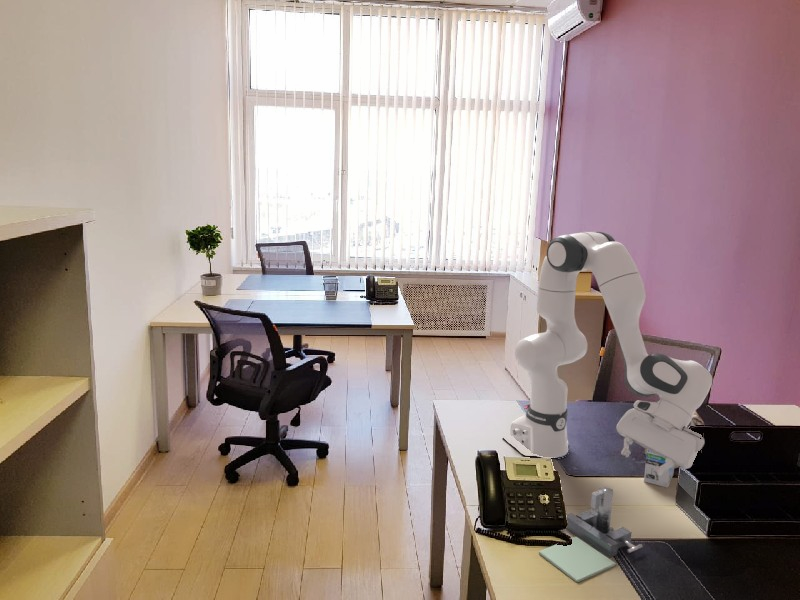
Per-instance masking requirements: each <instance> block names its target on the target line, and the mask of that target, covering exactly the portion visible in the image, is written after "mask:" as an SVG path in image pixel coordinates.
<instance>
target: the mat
mask: <svg viewBox="0 0 800 600" xmlns="http://www.w3.org/2000/svg"><path fill="white" fill-rule="evenodd" d="M570 539H572V544H571V545H567V546H563V545H557V544H558V543H556V544H554V545H550V546H548V547H545V548H544V549H541V550H539V551H538V554H539V555H540V556H541V557H543V558H544V559H545V560H546V561H548V562H549V563H550V564H552V565H553V566H555V567H556V568H557V569H558V570H560V571H561V572H562V573H564V574H565V575H566V576H568V577H569V578H570V579H571V580H573V581H574V582H575V583H579V582H582V581H585V580H586V579H588V578H591V577H594V576H595V575H598V574H599V573H601V572H604V571H606V570H609V569H611V568H613V567H615V566H616V562H614V561H613V560H611V558H610V557H608V556H607V555H605V554H604V553H602V552H601V551H599V550H598V549H596V548H595V547H593V546H592V545H590V544H589V543H587V542H586V541H584V540H583V539H581V538H580V537H578V536H573V537H571V538H570Z"/></svg>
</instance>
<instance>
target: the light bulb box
mask: <svg viewBox="0 0 800 600" xmlns="http://www.w3.org/2000/svg"><path fill="white" fill-rule="evenodd" d="M645 456H646V457H645V466H644V477H643V482H645V483H649V484H653V485H657V486H660V487H663V488H668V487H669V485H670V483H671V481H672V479H673V476H674V475H675V472H674V471H675V469H674V465H673V467H671V468H669V469H667V470H665V471H664V472H663V473H662V475H661V476H659V475H657V474H656V473H654V469H655V467H656V466H657V465H658V466H661V465H663V464H665V463H666V462H665V460H666V459H665V458H663V457H661V456H659V455H658V454H656V453H654V452H652V451H650V450H648V449H647V454H645ZM674 464H675V463H674Z"/></svg>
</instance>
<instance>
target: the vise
mask: <svg viewBox="0 0 800 600" xmlns="http://www.w3.org/2000/svg"><path fill="white" fill-rule="evenodd" d="M566 515H567V521H568V526H567V528H566V530H568V531H570V532H571V533H572V534H574V535H576V537H578V538H579V539H581V540H582V541H584V542H585V543H587V544H588V545H589V546H591V547H592V548H594V549H595V550H597V551H598V552H600V553H601V554H603V555H604V556H606V557H607V558H612V557H614V556H615V557H616V556H618V550H619V549H622V548H624V547H626V546H627V547H628V548H627V550H626V552H627V553H628V554H630V553H633V552H635V551H637V550H639V549H641V548H643V547H644V546H643V544H642V543H640V544H636V545H634V543H632V534H633V533H632V531H630V530H629V529H627V528H626V527H624V526H622V527H619V528H617V529H614V531H612V532H609V533H607V534H606V535H605V534H603V533H602V532H600V531H598V530H597V529H595V528H594V527H592V525H594V524H596V522H597V509H594V508H592V509H588V510H586V511H583V512H581V513H578V514H576V515H575V514H574V513H572V512H570V513H566Z"/></svg>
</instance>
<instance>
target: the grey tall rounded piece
mask: <svg viewBox="0 0 800 600" xmlns="http://www.w3.org/2000/svg"><path fill="white" fill-rule="evenodd" d="M613 498H614V490H613V489H612V488H611V487H609V486H600V487H598V490H596V491H593V492H592V493H591V498H590V499H591V500H590V507H591V508H592V509H594V510H596V511H597V522H596V524H594V525H592V527H594V528H595V529H597V530H598V531H600V532H602V533H603V534H605V535H606V534H607V533H609V532H612V531H614V530H615V529H614V528H613V527H612V526H611V521H612V520H611V518H612V508H613V507H612V506H613Z"/></svg>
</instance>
